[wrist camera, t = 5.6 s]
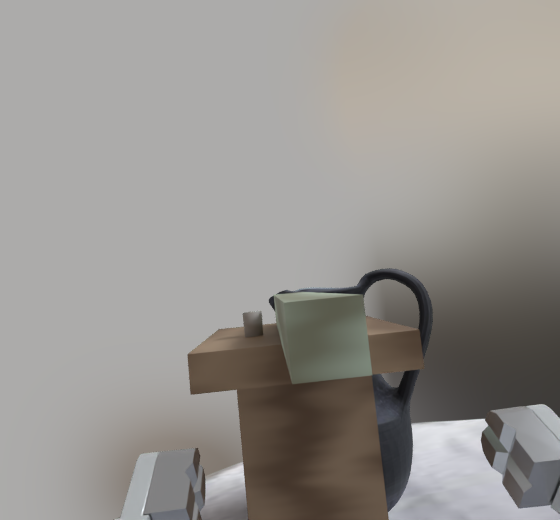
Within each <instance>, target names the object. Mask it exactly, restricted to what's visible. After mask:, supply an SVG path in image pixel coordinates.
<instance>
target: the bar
mask: <svg viewBox="0 0 560 520" xmlns="http://www.w3.org/2000/svg"><path fill="white" fill-rule="evenodd" d="M274 303H275V312H276V323H277V328H278V332H279V336H280V339H281V343H282V347H283V351H284V355H285V359H286V362H287V366H288V370H289V374H290V378H291V381H292V384H299V383H308V382H317V381H326V380H335V379H344V378H353V377H362V376H371V375H372V368H371V359H370V351H369V342H368V334H367V325H366V316H365V308H364V299H363V295H360V294H337V293H315V292H297V293H287V294H277V295H274Z"/></svg>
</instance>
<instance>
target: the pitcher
mask: <svg viewBox="0 0 560 520" xmlns="http://www.w3.org/2000/svg"><path fill="white" fill-rule="evenodd" d="M383 279H392V280H396V281H398V282H400V283H402V284H404V285H406V286H407V287H409V288H410V289H411V290H412V291H413V293H414V294H415V296H416V298H417V301H418V304H419V311H420V322H419V328H418V330H420V338H421V346H422V353H423V359H424V356H425V353H426V350H427V347H428V343H429V339H430V334H431V329H432V322H433V321H432V320H433V319H432V305H431V300H430V298H429V295H428V293H427V291H426V289H425V287H424V286H423V284H422V283H421V282H420V281H419V280H418V279H416V278H415V277H414V276H413V275H411V274H409V273H406V272H404V271H401V270H398V269H390V268H389V269H380V270H375V271H372V272H369V273H367V274H365V275H364V276H363V277H362V278H361V280H360V282H359V283H358V285H357V286H354V287H349V288H303V289H299V290H296V291H288V290H285V291H282V292H279V293H278V294H287V293H297V292H315V293H337V294H360V295H363V298H364V295H365V292H366V291H367V289H368V288H369V287H370V286H371V285H372V284H373V283H375V282H376V281H379V280H383ZM276 295H277V294H276ZM269 303H270V305H271V306H272V308H273V309H274V311H275V303H274V296H272V297H271V298H270V299H269ZM419 371H420V369H418V370H409V371H405V372H404V375H403V378H402V380H401V383H400V385H399V387H398V388H394V387H391V386H390V385H389V384H388V383H387V382H386V381H385V380H384V378H383V377H382V375H381V374H373V375H372V382H373V391H374V399H375V408H376V416H377V425H378V434H379V442H380V451H381V459H382V468H383V476H384V485H385V493H386V502H387V511H388V512H389V511H390V510H391V509H392V508H393V507H394V506H395V504H396V503H397V502H398V500H399V499H400V497H401V496H402V494H403V492H404V490H405V488H406V485H407V482H408V479H409V476H410V471H411V464H412V452H413V439H412V427H411V420H410V400H411V396H412V393H413V390H414V386H415V382H416V380H417V377H418V374H419Z"/></svg>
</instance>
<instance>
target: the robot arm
mask: <svg viewBox="0 0 560 520" xmlns="http://www.w3.org/2000/svg"><path fill="white" fill-rule="evenodd" d="M485 421H486V422H487V424H488V425H489V426H488V427H487V428H486V429H485V430H484V431H483V432H482V437H481V443H482V448H483V452H484V454H485V456H486V458H487V460H488V462H489V463H490V465H491V467H492V468H494V469H495V470H497V471H498V472H500V473H501V474H503V480H502V484H503V485H504V487H505V488H506V490H507V491H508V493H509V494H510V496H511V497H512V499H513V500H514V502H515V504H516V505H517V507H518V508H528V507H538V506H547V505H551V508H553V509H554V510H555V511H556V512H558V513H559V514H560V418H559V417H558V416H557V415H556V414H555V413H554V412H553V411H552V410H551V409H550V408H549V407H547V406H546V405H543V404H540V405H532V406H525V407H523V406H522V407H514V408H507V409H500V410H493V411H490V412H489V413H487V415H486V419H485ZM199 462H200V454H199V450H198V448H193V449H183V450H172V451H162V452H153V453H145V454H141V455H140V456H139V458H138V460H137V462H136V465H135V469H134V472H133V475H132V479H131V482H130V486H129V489H128V493H127V496H126V499H125V503H124V506H123V510H122V513H121V516H120V518H118V519H114V520H202V519H201V516H200V511H201V509H202V508H203V506H204V503H205V474H204V469H203V467H202V466H201V465H199Z"/></svg>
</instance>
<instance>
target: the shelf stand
mask: <svg viewBox="0 0 560 520" xmlns="http://www.w3.org/2000/svg"><path fill="white" fill-rule="evenodd" d="M243 321H244V327H236V328H227V329H219V330H218V331H216V332H215V333H214V334H212V335H211V336H210V337H209V338H208V339H206V340H205V341H204V342H202V343H201V344H200V345H199V346H197V348H195V349H194V350H192V351H191V352H190V353H189V354H188V366H189V379H190V391H191V394H201V393H210V392H219V391H228V390H237V395H238V408H239V419H240V431H241V442H242V453H243V465H244V476H245V487H246V499H247V510H248V520H389V519H388V511H387V502H386V493H385V485H384V476H383V468H382V459H381V451H380V442H379V434H378V425H377V416H376V408H375V399H374V391H373V382H372V375H373V374H382V373H390V372H400V371H409V370H418V369H424V361H423V353H422V346H421V338H420V330H418V329H415V328H411V327H407V326H403V325H399V324H395V323H391V322H387V321H384V320H380V319H376V318H372V317H368V316H366V325H367V334H368V342H369V351H370V359H371V368H372V375H371V376H362V377H353V378H344V379H335V380H326V381H317V382H308V383H299V384H292V381H291V378H290V374H289V370H288V366H287V362H286V359H285V355H284V351H283V347H282V343H281V339H280V336H279V332H278V328H277V323H275V324H265V325H262V314H261V311H256V312H248V313H243Z"/></svg>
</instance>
